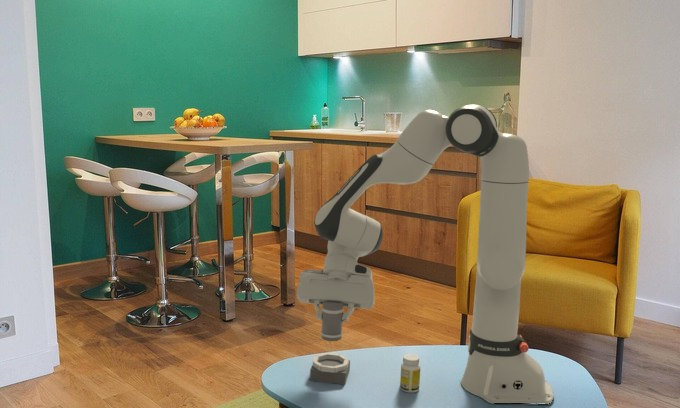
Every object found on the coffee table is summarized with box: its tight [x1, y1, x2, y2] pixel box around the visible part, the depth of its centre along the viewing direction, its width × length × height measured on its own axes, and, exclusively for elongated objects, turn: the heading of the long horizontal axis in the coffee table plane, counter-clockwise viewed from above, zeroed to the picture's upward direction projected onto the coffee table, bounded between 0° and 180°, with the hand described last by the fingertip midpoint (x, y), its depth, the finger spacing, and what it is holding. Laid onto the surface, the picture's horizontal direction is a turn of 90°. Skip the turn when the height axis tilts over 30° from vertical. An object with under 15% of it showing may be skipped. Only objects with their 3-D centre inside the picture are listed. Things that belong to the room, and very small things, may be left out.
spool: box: [320, 301, 344, 342], centre depth 160 cm, size 5×5×9 cm
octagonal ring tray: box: [309, 352, 351, 385], centre depth 162 cm, size 9×9×4 cm
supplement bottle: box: [399, 353, 421, 394], centre depth 156 cm, size 5×5×8 cm
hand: (331, 319), depth 159 cm, fingers closed on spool, 5 cm apart
